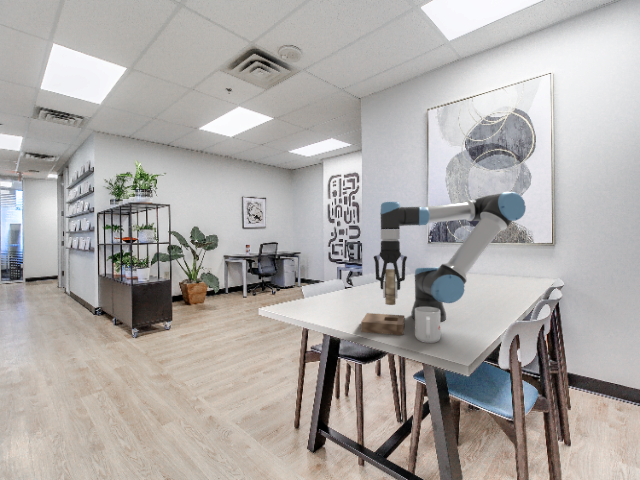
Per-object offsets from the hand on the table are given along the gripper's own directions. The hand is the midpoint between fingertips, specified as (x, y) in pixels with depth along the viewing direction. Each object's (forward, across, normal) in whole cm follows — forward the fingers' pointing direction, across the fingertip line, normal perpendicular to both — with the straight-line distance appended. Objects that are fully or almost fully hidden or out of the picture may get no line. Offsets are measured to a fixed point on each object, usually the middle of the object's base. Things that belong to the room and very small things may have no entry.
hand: (390, 297), depth 130 cm
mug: (+13, -14, +11) cm, 22 cm away
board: (+13, +3, 0) cm, 13 cm away
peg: (+3, 0, 0) cm, 3 cm away
